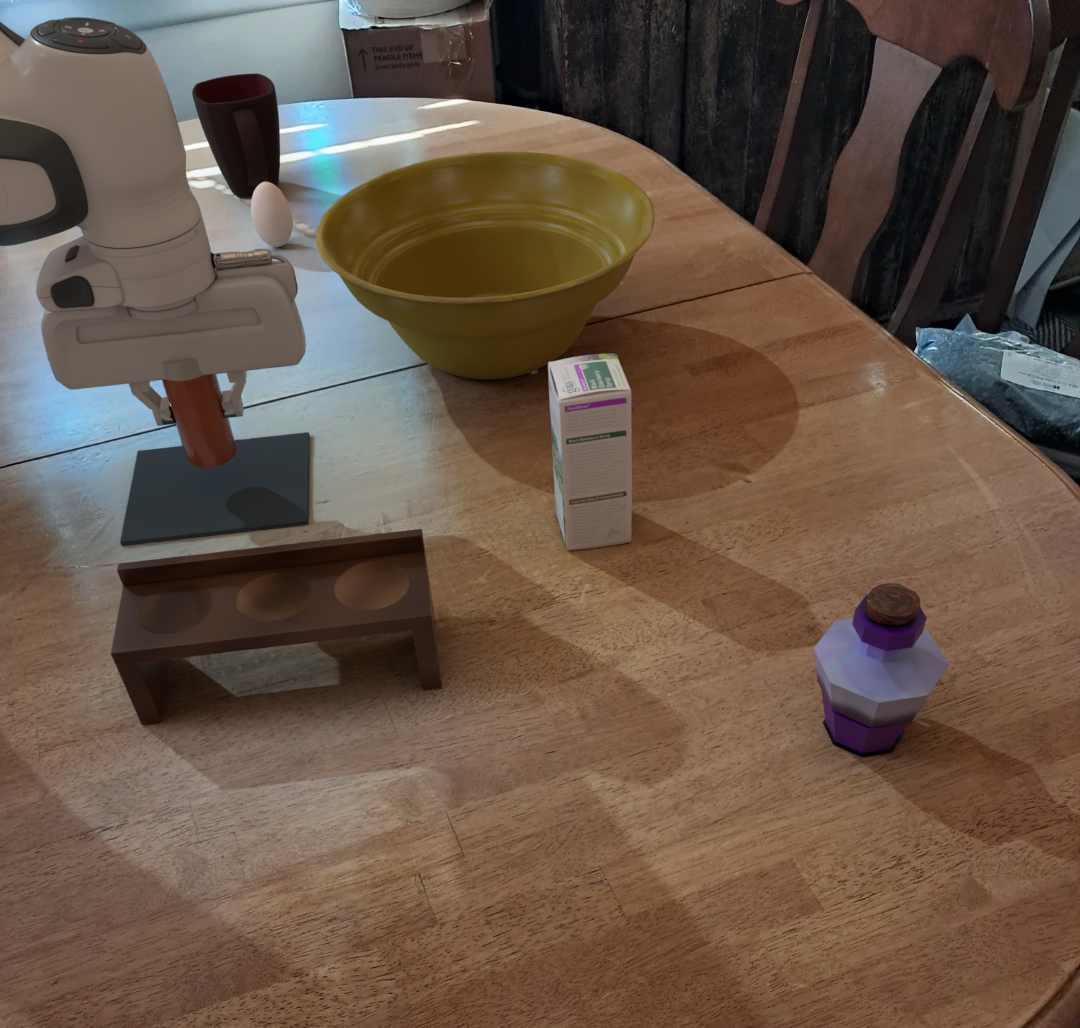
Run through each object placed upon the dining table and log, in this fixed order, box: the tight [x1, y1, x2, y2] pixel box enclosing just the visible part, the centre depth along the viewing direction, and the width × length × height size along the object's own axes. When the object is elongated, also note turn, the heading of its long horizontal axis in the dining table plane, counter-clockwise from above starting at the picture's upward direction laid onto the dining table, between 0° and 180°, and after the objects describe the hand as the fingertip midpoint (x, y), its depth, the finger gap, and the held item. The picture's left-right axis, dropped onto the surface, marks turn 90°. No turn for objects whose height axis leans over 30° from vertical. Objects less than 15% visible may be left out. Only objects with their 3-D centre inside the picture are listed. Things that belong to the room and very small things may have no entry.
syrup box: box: [547, 352, 633, 551], centre depth 92 cm, size 6×6×14 cm
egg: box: [250, 182, 294, 248], centre depth 135 cm, size 5×5×7 cm
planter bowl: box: [315, 151, 656, 381], centre depth 114 cm, size 32×32×13 cm
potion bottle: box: [813, 582, 949, 758], centre depth 76 cm, size 9×9×12 cm
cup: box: [191, 73, 281, 199], centre depth 144 cm, size 10×14×12 cm
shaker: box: [161, 359, 237, 468], centre depth 98 cm, size 5×5×10 cm
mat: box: [119, 431, 310, 546], centre depth 104 cm, size 16×14×1 cm
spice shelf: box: [110, 528, 443, 726], centre depth 84 cm, size 22×8×9 cm, turn 98°
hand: (200, 417), depth 99 cm, fingers closed on shaker, 4 cm apart
